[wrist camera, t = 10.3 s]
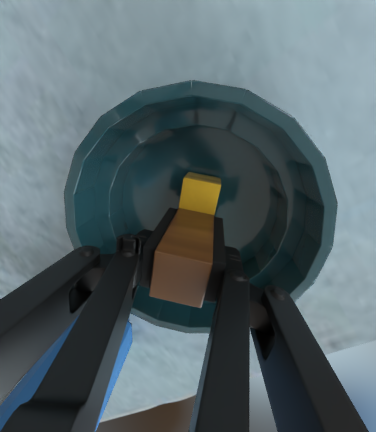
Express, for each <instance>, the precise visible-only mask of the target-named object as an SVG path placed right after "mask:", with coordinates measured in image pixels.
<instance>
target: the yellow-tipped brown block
mask: <svg viewBox="0 0 376 432" xmlns="http://www.w3.org/2000/svg"><path fill="white" fill-rule="evenodd" d="M220 189H221V179H220V178H218V177H213V176H208V175H203V174H198V173H192V172H188V173H187V174H186V175H185V177H184V178H183V183H182V189H181V196H180V202H179V208H178V210H177V212H176V214H175V215H174V217H173V219H172V221H171V223H170V224H169V226H168V228H167V230H166V232H165V234H164V235H163V237H162V239H161V241H160V243H159V244H158V246H157V248H156V250H155V252H154V260H153V268H152V276H151V284H150V292H149V296H151V297H155V298H159V299H163V300H168V301H172V302H176V303H181V304H185V305H189V306H193V307H198V308H201V307H202V304H203V300H204V296H205V292H206V288H207V284H208V281H209V277H210V273H211V269H212V265H213V237H214V214H215V210H216V206H217V201H218V197H219V193H220Z"/></svg>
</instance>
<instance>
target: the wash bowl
mask: <svg viewBox="0 0 376 432" xmlns="http://www.w3.org/2000/svg"><path fill="white" fill-rule="evenodd" d="M188 172H192V173H198V174H203V175H208V176H213V177H218V178H220V179H221V189H220V193H219V197H218V201H217V206H216V210H215V214H214V217H219V218H223V227H224V240H225V246H229V247H233V248H237V250H238V251H239V252H240V255H241V260H242V261H241V262H242V265H243V270H244V273H245V274H246V275H247V276H248V277H249V280H250V283H251V284H253V285H255V286H256V287H259V288H261V289H263V290H264V289H265V287H266V286H268V285H274V286H278V287H280V288H282V289H284V290H285V291H286V292H288V294H289V295H290V296H291V298H292V299H293V301H294V302H296V301H297V300H298V299H299V298H300V297H301V296H302V295H303V294H304V293H305V292H306V291H307V290H308V289H309V288H310V287H311V286H312V285H313V284H314V282H315V281H316V279H317V277H318V275H319V273H320V271H321V269H322V267H323V265H324V263H325V261H326V259H327V257H328V255H329V253H330V251H331V249H332V246H333V241H334V232H335V223H336V214H337V204H338V203H337V199H336V195H335V192H334V188H333V185H332V181H331V177H330V174H329V170H328V166H327V163H326V159H325V157H324V156H323V154H322V153H321V152H320V151H319V149H318V148H317V147H316V145H315V144H314V143H313V141H312V140H311V139H310V138H309V136H308V135H307V134H306V132H305V131H304V130H303V128H302V127H301V126H300V125H299V123H298V122H297V121H296V119H295V118H294V117H292V116H291V115H289V114H288V113H286V112H284V111H283V110H281V109H279V108H277V107H276V106H274V105H272V104H271V103H269V102H267V101H266V100H264V99H262V98H261V97H259V96H257V95H256V94H254V93H252V92H251V91H249V90H246V89H243V88H237V87H231V86H225V85H219V84H213V83H207V82H201V81H195V80H193V81H191V80H190V81H185V82H180V83H175V84H170V85H166V86H161V87H156V88H151V89H146V90H142V91H139V92H137V93H136V94H134V95H133V96H131V97H130V98H128V99H127V100H125V101H124V102H122V103H120V104H119V105H117V106H116V107H114V108H113V109H111V110H110V111H108V112H107V113H105V114H104V115H102V116H101V117H100V118H99V119H98V121H97V122H96V123H95V125H94V126H93V128H92V129H91V130H90V132H89V133H88V135H87V136H86V137H85V139H84V140H83V141H82V143H81V144H80V146H79V147H78V148H77V150H76V151H75V154H74V157H73V160H72V164H71V168H70V171H69V175H68V179H67V182H66V186H65V190H64V201H65V216H66V228H67V231H68V234H69V237H70V239H71V242H72V245H73V247H74V250H75V249H77V248H79V247H82V246H87V245H89V246H95V247H98V248H99V249H100V254H115V252H116V239H117V237H118V236H120V235H124V234H133V235H137V233H138V232H139V231H141V230H143V229H147V230H151V231H154V230H155V228H156V227H157V225H158V224H159V222H160V221H161V219H162V218H163V216H164V215H165V213H166V212H167V210H168V209H169V208H175V209H178V208H179V202H180V196H181V189H182V183H183V178H184V177H185V175H186V174H187V173H188ZM149 292H150V288H147V287H143V286H140V280H139V282H138V284H137V291H136V295H135V298H134V301H133V305H132V308H131V311H130V313H131V314H133V315H135V316H137V317H139V318H141V319H143V320H145V321H147V322H149V323H151V324H154V325H156V326H159V327H164V328H168V329H172V330H176V331H180V332H184V333H208V334H210V329H211V324H212V320H213V319H212V317H213V314H214V310H215V307H216V303H217V298H216V302H215V303H212V302H208V301H203V304H202V307H201V308H198V307H193V306H189V305H185V304H181V303H176V302H172V301H168V300H163V299H159V298H155V297H151V296H149Z"/></svg>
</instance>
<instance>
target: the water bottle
mask: <svg viewBox="0 0 376 432" xmlns="http://www.w3.org/2000/svg"><path fill="white" fill-rule="evenodd" d="M78 317H79V316H78ZM78 317H77V318H78ZM77 318H76V319H75V320H74V321H73V322H72V323H71V325H70V326H69V327H68V328H67V329H66V330H65V331H64V332H63V333H62V334H61V336H60V337H59V338H58V339H57V340H56V341H55V342H54V343H53V344H52V346H51V347H50V348H49V349H48V350H47V351H46V352H45V353H44V354H43V355H42V357H41V358H40V359H39V360H38V361H37V362H36V363H35V364H34V365H33V367H32V368H31V369H30V370H29V371H28V372H27V373H26V375H25V376H24V377H23V378H22V380H21V381H20V382H19V383H18V385H17V386H16V387H15V389H14V390H13V391H12V392H11V393H10V395H9V396H8V397H7V398H6V399H5V401H4V402H3V403H2V405H1V406H0V431H1V430H2V428H3V426H4V425H5V423H6V422H7V420H8V419H9V417H10V416H11V415H12V413H13V412H14V411H15V410H16V409H17V408H18V407H19V405H20V404H23V403H25V402H27V401H29V400H30V399H31V398H32V396H33V395H34V393H35V392H36V390H37V388H38V387H39V385H40V383H41V381H42V380H43V378H44V376H45V374H46V373H47V371H48V369H49V367H50V366H51V364H52V362H53V360H54V359H55V357H56V355H57V353H58V352H59V350H60V348H61V346H62V345H63V343H64V341H65V339H66V338H67V336H68V334H69V332H70V331H71V329H72V327H73V325H74V324H75V322H76V320H77ZM131 344H132V328H131V323H129V322H128V321H127V325H126V328H125V331H124V335H123V338H122V342H121V345H120V348H119V352H118V355H117V358H116V362H115V365H114V368H113V372H112V375H111V378H110V382H109V385H108V388H107V392H106V395H105V398H104V402H103V405H102V408H101V412H100V415H99V418H98V422H97V425H96V429H97V427H98V424H99V422H100V419H101V417H102V414H103V412H104V410H105V407H106V405H107V402H108V400H109V397H110V395H111V393H112V390H113V388H114V385H115V383H116V380H117V378H118V375H119V373H120V371H121V368H122V366H123V363H124V361H125V358H126V356H127V354H128V351H129V349H130V346H131ZM96 429H95V432H96Z"/></svg>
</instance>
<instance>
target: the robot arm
mask: <svg viewBox="0 0 376 432" xmlns="http://www.w3.org/2000/svg"><path fill="white" fill-rule="evenodd" d="M177 210H178V209H175V208H169V209H168V210H167V212H166V213H165V215H164V216H163V218H162V219H161V221H160V222H159V224H158V225H157V227H156V228H155V230H154V231H151V230H147V229H143V230H141V231H139V232H138V233H137V235H133V234H124V235H120V236H118V237H117V239H116V252H115V254H100V249H99V248H98V247H95V246H89V245H87V246H82V247H79V248H77V249H75V250H74V251H72V252H71V253H69V254H68V255H66V256H65V257H63V258H62V259H60V260H59V261H57V262H56V263H54V264H53V265H51V266H50V267H48V268H47V269H45V270H44V271H42V272H41V273H39V274H38V275H36V276H35V277H33V278H32V279H30V280H29V281H27V282H26V283H24V284H23V285H21V286H20V287H18V288H17V289H15V290H14V291H12V292H11V293H9V294H8V295H6V296H5V297H3V298H2V299H0V402H1V401H2V400H3V398H4V397H5V396H6V395H7V394H8V393H9V392H10V391H11V390H12V389H13V388H14V386H15V385H16V384H17V383H18V382H19V381H20V380H21V379H22V378H23V376H24V375H25V374H26V373H27V372H28V371H29V370H30V369H31V368H32V367H33V365H34V364H35V363H36V362H37V361H38V360H39V359H40V358H41V357H42V355H43V354H44V353H45V352H46V351H47V350H48V349H49V348H50V347H51V346H52V344H53V343H54V342H55V341H56V340H57V339H58V338H59V337H60V336H61V334H62V333H63V332H64V331H65V330H66V329H67V328H68V327H69V326H70V325H71V323H72V322H73V321H74V320H75V319H76V318H77V317H78V316H79V317H78V318H77V320H76V322H75V324H74V325H73V327H72V329H71V331H70V332H69V334H68V336H67V338H66V339H65V341H64V343H63V345H62V346H61V348H60V350H59V352H58V353H57V355H56V357H55V359H54V360H53V362H52V364H51V366H50V367H49V369H48V371H47V373H46V374H45V376H44V378H43V380H42V381H41V383H40V385H39V387H38V388H37V390H36V392H35V393H34V395H33V396H32V398H31V399H30V400H29V401H27V402H25V403H23V404H20V405H19V407H18V408H17V409H16V410H15V411H14V412H13V413H12V415H11V416H10V417H9V419H8V420H7V422H6V423H5V425H4V426H3V428H2V430H1V431H0V432H95V429H96V425H97V422H98V418H99V415H100V412H101V408H102V405H103V402H104V398H105V395H106V392H107V388H108V385H109V382H110V378H111V375H112V372H113V368H114V365H115V362H116V358H117V355H118V352H119V348H120V345H121V342H122V338H123V335H124V331H125V328H126V325H127V321H128V318H129V315H130V311H131V308H132V305H133V301H134V298H135V295H136V291H137V284H138V282H139V280H140V286H143V287H147V288H150V284H151V276H152V268H153V260H154V252H155V250H156V248H157V246H158V244H159V243H160V241H161V239H162V237H163V235H164V234H165V232H166V230H167V228H168V226H169V224H170V223H171V221H172V219H173V217H174V215H175V214H176V212H177ZM241 261H242V260H241V255H240V252H239V251H238V250H237V248H233V247H229V246H225V240H224V227H223V218H219V217H214V237H213V265H212V269H211V273H210V277H209V281H208V284H207V288H206V292H205V296H204V300H203V301H208V302H212V303H215V302H216V298H217V303H216V307H215V310H214V314H213V317H212V319H213V320H212V324H211V329H210V334H209V338H208V343H207V348H206V352H205V357H204V362H203V366H202V371H201V376H200V380H199V385H198V390H197V394H196V399H195V404H194V409H193V413H192V418H191V423H190V427H189V432H249V335H250V330H251V334H252V338H253V342H254V345H255V349H256V353H257V356H258V360H259V364H260V368H261V371H262V375H263V379H264V382H265V386H266V390H267V394H268V397H269V401H270V404H271V409H272V412H273V416H274V420H275V423H276V427H277V431H278V432H369V431H368V430H367V428H366V426H365V424H364V423H363V421H362V419H361V417H360V416H359V414H358V412H357V411H356V409H355V407H354V405H353V404H352V402H351V400H350V398H349V397H348V395H347V393H346V392H345V390H344V388H343V386H342V384H341V383H340V381H339V379H338V378H337V376H336V374H335V372H334V371H333V369H332V367H331V365H330V364H329V362H328V360H327V358H326V357H325V355H324V353H323V351H322V350H321V348H320V346H319V344H318V343H317V341H316V339H315V337H314V336H313V334H312V332H311V331H310V329H309V327H308V325H307V324H306V322H305V320H304V318H303V317H302V315H301V313H300V311H299V310H298V308H297V306H296V304H295V303H294V301H293V299H292V298H291V296H290V295H289V294H288V292H286V291H285V290H284V289H282V288H280V287H278V286H274V285H268V286H266V287H265V289H264V290H263V289H261V288H259V287H256V286H255V285H253V284H251V283H250V280H249V277H248V276H247V275H246V274H245V273H244V270H243V265H242V262H241Z"/></svg>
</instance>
